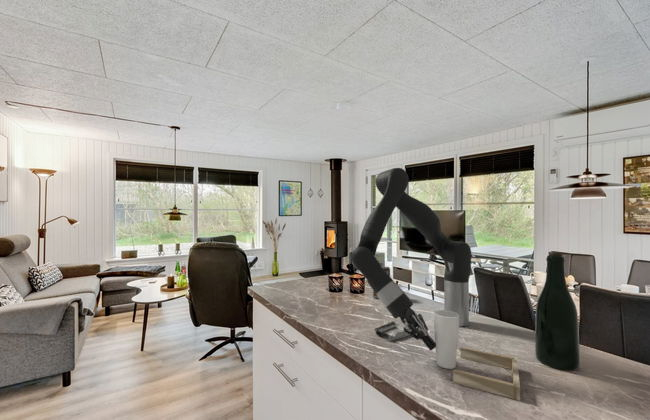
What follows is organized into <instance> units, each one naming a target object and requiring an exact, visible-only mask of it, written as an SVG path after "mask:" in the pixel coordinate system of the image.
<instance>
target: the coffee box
mask: <svg viewBox="0 0 650 420" xmlns="http://www.w3.org/2000/svg"><path fill="white" fill-rule="evenodd" d="M381 267H382V268H383V269H384V270H385V272H386V273H387V274H388V275H389V276H390V277H391V268H390V267H389V266H381ZM372 296H373V297H372V298H379V297H378V296H377V294H376V293H375V292H374V290H373V289H372Z"/></svg>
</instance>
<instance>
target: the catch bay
mask: <svg viewBox="0 0 650 420" xmlns="http://www.w3.org/2000/svg"><path fill="white" fill-rule="evenodd" d="M460 358H461V359H464V360H469V361H473V362H477V363H482V364H487V365H490V366H495V367H499V368H504V369H509V370H511V372H512V374H511V375H512V382H509V381H504V380H502V379H501V380H500V379H496V378H493V377H489V376H488V377H487V376H484V375H480V374H476V373H472V372H467V371H463V370H460V369H456V368H453V373H452V374H453V380H452V381H453V382H452V383H454V384H457V385H460V386H465V387H469V388H473V389H476V390H480V391H483V392H487V393H491V394H494V395H497V396H498V395H499V396H502V397H504V398H510V399H513V400H517V401H521V383H520V374H519V367H518V366H519V365H518V358H517V357H514V356H509V355H505V354H499V353H495V352H488V351H485V350H479V349H475V348H469V347H464V346H460Z"/></svg>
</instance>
